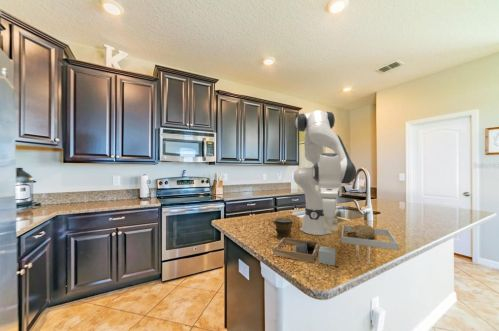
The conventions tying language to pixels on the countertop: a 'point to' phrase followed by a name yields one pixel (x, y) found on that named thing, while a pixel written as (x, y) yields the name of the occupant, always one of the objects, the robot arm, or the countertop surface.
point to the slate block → (327, 255)
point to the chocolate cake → (305, 248)
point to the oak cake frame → (295, 254)
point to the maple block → (335, 224)
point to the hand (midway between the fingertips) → (330, 224)
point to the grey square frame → (373, 243)
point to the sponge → (361, 232)
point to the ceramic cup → (283, 227)
